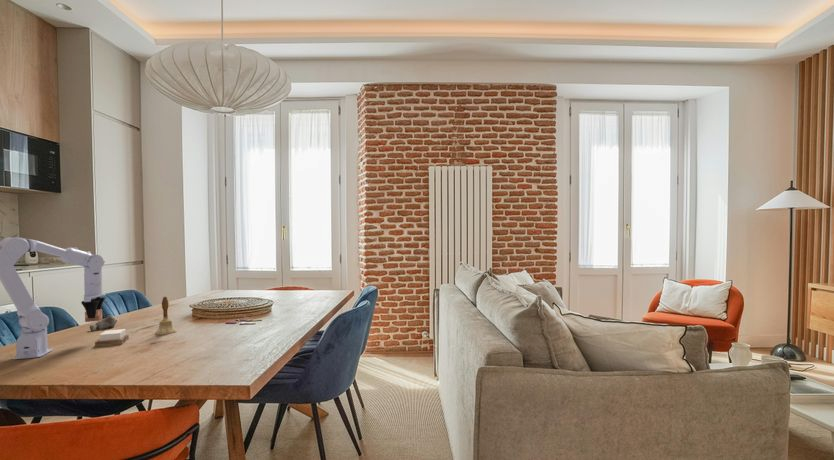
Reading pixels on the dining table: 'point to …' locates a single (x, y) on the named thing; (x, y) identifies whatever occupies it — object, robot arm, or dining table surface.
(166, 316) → the hand bell
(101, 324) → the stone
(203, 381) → the dining table surface
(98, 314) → the block
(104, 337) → the white flat square slab
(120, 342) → the tower base
